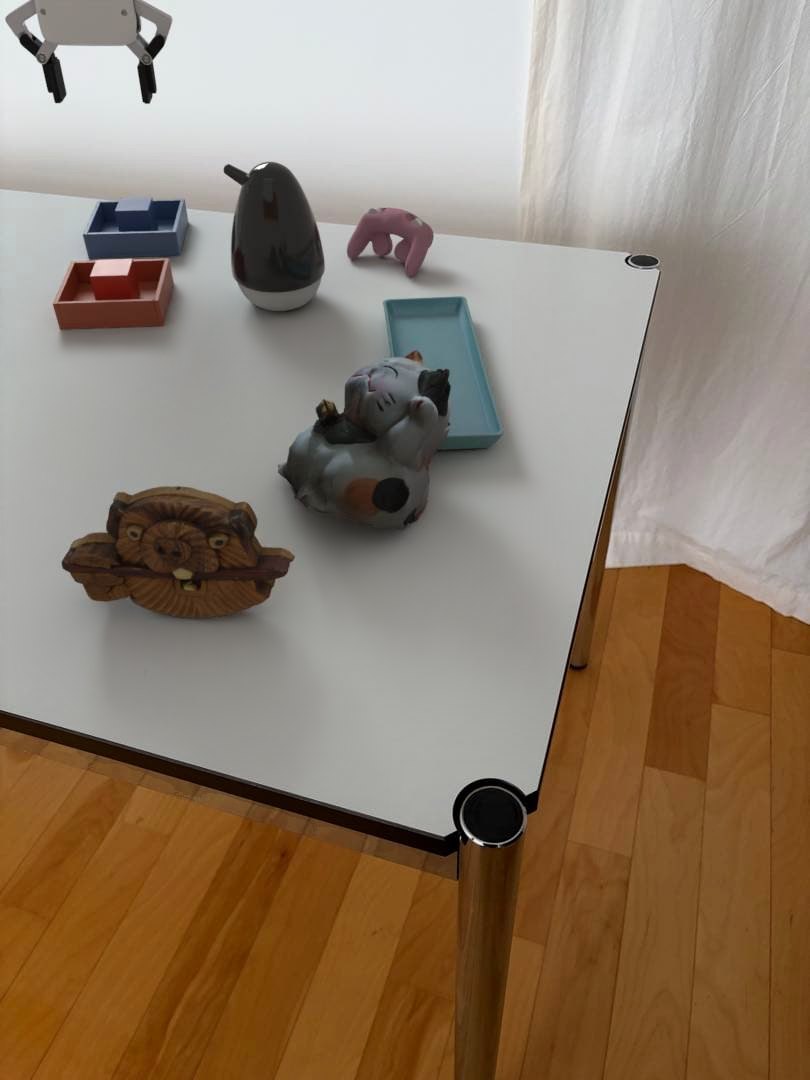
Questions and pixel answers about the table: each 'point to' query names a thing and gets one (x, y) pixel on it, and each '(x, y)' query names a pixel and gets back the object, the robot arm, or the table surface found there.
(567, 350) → the table surface
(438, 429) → the lucky cat figurine
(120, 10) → the robot arm
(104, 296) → the red block
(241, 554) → the wooden carving
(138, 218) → the blue block
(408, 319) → the rectangular tray
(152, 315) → the red bin
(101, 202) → the blue bin
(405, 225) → the video game controller
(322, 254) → the pump dispenser
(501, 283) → the table surface
